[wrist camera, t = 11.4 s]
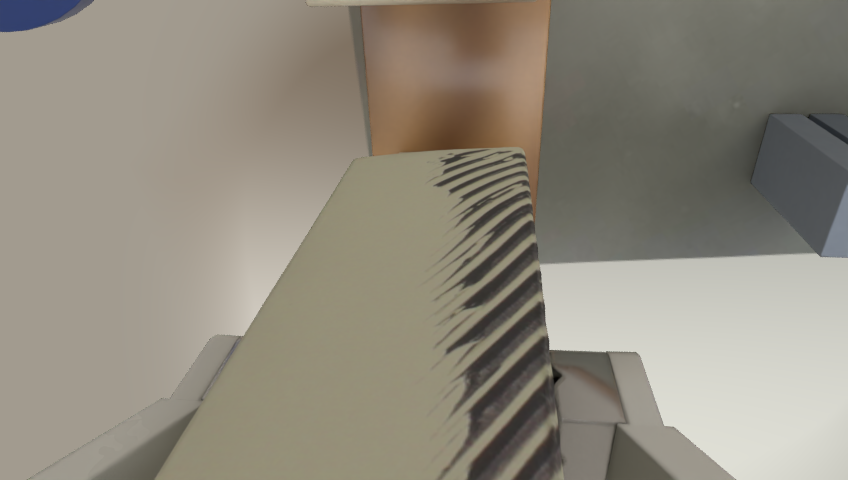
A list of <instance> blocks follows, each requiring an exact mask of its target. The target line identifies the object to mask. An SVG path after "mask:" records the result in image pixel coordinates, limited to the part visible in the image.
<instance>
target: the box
mask: <svg viewBox="0 0 848 480" xmlns="http://www.w3.org/2000/svg"><path fill="white" fill-rule="evenodd" d="M154 480H564V474H563V467H562V459H561V445H560V431H559V424H558V418H557V411H556V404H555V392H554V379H553V373H552V367H551V361H550V355H549V338H548V333H547V328H546V322H545V305H544V299H543V292H542V282H541V271H540V265H539V259H538V247H537V241H536V236H535V224H534V220H533V207H532V202H531V193H530V184H529V176H528V168H527V163H526V157H525V152H524V150H523V149H522V148H520V147H503V148H477V149H454V150H436V151H422V152H410V153H399V154H390V155H380V156H370V157H361V158H357V159H355V160H353V161H352V163H351V164H350V166H349V168H348V169H347V171H346V173H345V174H344V176H343V177H342V179H341V181H340V182H339V184H338V185H337V187H336V189H335V191H334V192H333V194H332V195H331V197H330V198H329V200H328V202H327V203H326V205H325V207H324V208H323V210H322V211H321V213H320V214H319V216H318V218H317V219H316V221H315V223H314V224H313V226H312V227H311V229H310V231H309V232H308V234H307V235H306V237H305V239H304V240H303V242H302V243H301V245H300V247H299V248H298V250H297V251H296V253H295V254H294V256H293V258H292V259H291V261H290V263H289V264H288V266H287V268H286V269H285V271H284V272H283V274H282V275H281V277H280V278H279V280H278V281H277V283H276V285H275V286H274V288H273V289H272V291H271V293H270V294H269V296H268V297H267V299H266V301H265V302H264V304H263V305H262V307H261V309H260V310H259V312H258V314H257V315H256V317H255V318H254V320H253V322H252V323H251V325H250V327H249V328H248V330H247V331H246V333H245V335H244V336H243V338H242V340H241V341H240V343H239V344H238V346H237V347H236V349H235V350H234V352H233V353H232V355H231V356H230V358H229V360H228V361H227V363H226V365H225V366H224V368H223V370H222V371H221V373H220V374H219V376H218V378H217V379H216V381H215V383H214V384H213V386H212V387H211V389H210V391H209V392H208V394H207V395H206V397H205V399H204V400H203V402H202V403H201V405H200V407H199V408H198V410H197V411H196V413H195V415H194V416H193V418H192V419H191V421H190V423H189V424H188V426H187V427H186V429H185V431H184V432H183V434H182V435H181V437H180V439H179V440H178V442H177V444H176V445H175V447H174V448H173V450H172V452H171V453H170V455H169V457H168V458H167V460H166V461H165V463H164V465H163V466H162V468H161V469H160V471H159V473H158V474H157V476H156V478H155V479H154Z"/></svg>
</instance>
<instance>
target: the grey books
mask: <svg viewBox="0 0 848 480" xmlns="http://www.w3.org/2000/svg"><path fill="white" fill-rule="evenodd" d="M751 184H752V185H753V186H754V187H755V188H756V189H757V190H758V191H759V192H760V193H761V194H762V195H763V196H764V197H765V199H766V200H767V201H768V202H769V203H770V204H771V205H772V206H773V207H774V208H775V209H776V210H777V211H778V212H779V213H780V214H781V215H782V217H783V218H784V219H785V220H786V221H787V222H788V223H789V224H790V225H791V226H792V227H793V228H794V229H795V230H796V231H797V232H798V234H799V235H800V236H801V237H802V238H803V239H804V240H805V241H806V242H807V243H808V244H809V245H810V246H811V247H812V248H813V249H814V251H815V252H816V253H817V254H818V255H819V256H820V257H842V258H848V117H847V116H845V115H844V114H810V116H809V119H808V118H807V117H805V116H804V115H802V114H770V116H769V119H768V123H767V126H766V130H765V133H764V137H763V140H762V144H761V148H760V151H759V155H758V158H757V162H756V165H755V169H754V173H753V176H752V180H751Z"/></svg>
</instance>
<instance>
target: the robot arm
mask: <svg viewBox="0 0 848 480" xmlns="http://www.w3.org/2000/svg"><path fill="white" fill-rule="evenodd" d="M242 338H243V336H231V335H215V336H214V337H212V338H210V339H209V341H208V342H207V344H206V345H205V347H204V348H203V350H202V351H201V353H200V354H199V356H198V357H197V359H196V360H195V362H194V363H193V365H192V366H191V368H190V369H189V371H188V372H187V374H186V375H185V377H184V378H183V380H182V381H181V383H180V384H179V386H178V387H177V389H176V390H175V392H174V393H173V394H172V396H171V398H170V399H163V398H161V399H160V400H158V401H157V402H155V403H153V404H152V405H150V406H148V407H146V408H145V409H143V410H142V411H140V412H138V413H137V414H135V415H133V416H132V417H130V418H128V419H127V420H125V421H123V422H122V423H120V424H118V425H117V426H115V427H113V428H112V429H110V430H108V431H107V432H105V433H103V434H102V435H100V436H98V437H97V438H95V439H93V440H92V441H91V442H88V443H87V444H85V445H83V446H82V447H80V448H78V449H77V450H75V451H74V452H72V453H70V454H69V455H67V456H65V457H64V458H62V459H60V460H59V461H57V462H55V463H54V464H52V465H50V466H49V467H47V468H45V469H44V470H42V471H41V472H39V473H37V474H35V475H34V476H32V477H30V478H29V479H27V480H154V479H155V478H156V476H157V474H158V473H159V471H160V469H161V468H162V466H163V465H164V463H165V461H166V460H167V458H168V457H169V455H170V453H171V452H172V450H173V448H174V447H175V445H176V444H177V442H178V440H179V439H180V437H181V435H182V434H183V432H184V431H185V429H186V427H187V426H188V424H189V423H190V421H191V419H192V418H193V416H194V415H195V413H196V411H197V410H198V408H199V407H200V405H201V403H202V402H203V400H204V399H205V397H206V395H207V394H208V392H209V391H210V389H211V387H212V386H213V384H214V383H215V381H216V379H217V378H218V376H219V374H220V373H221V371H222V370H223V368H224V366H225V365H226V363H227V361H228V360H229V358H230V356H231V355H232V353H233V352H234V350H235V349H236V347H237V346H238V344H239V343H240V341H241V340H242ZM549 355H550V361H551V367H552V373H553V379H554V392H555V404H556V411H557V418H558V424H559V431H560V445H561V459H562V467H563V474H564V480H736V479H735V478H733V477H732V476H731V475H730V474H729V473H727V472H726V471H725V470H724V469H723V468H721V467H720V466H719V465H718V464H717V463H716V462H714V461H713V460H712V459H711V458H710V457H709V456H707V455H706V454H705V453H704V452H703V451H701V450H700V449H699V448H698V447H696V445H694V444H693V443H692V442H691V441H690V440H689V439H687V438H686V437H685V436H684V435H683V434H681V433H680V432H679V431H678V430H676V428H674V427H668V426H664V425H663V421H662V418H661V416H660V413H659V410H658V407H657V404H656V401H655V398H654V395H653V392H652V390H651V386H650V384H649V381H648V378H647V375H646V372H645V369H644V366H643V363H642V360H641V358H640V356H639V355H638V354H637V353H636V352H608V351H607V352H606V353H605V352H590V351H562V350H549Z"/></svg>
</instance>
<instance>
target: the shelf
mask: <svg viewBox="0 0 848 480" xmlns="http://www.w3.org/2000/svg"><path fill="white" fill-rule="evenodd" d="M306 4H307V6H310V7H319V6H320V7H322V6H360V11H361V23H362V35H363V47H364V58H365V70H366V82H367V94H368V106H369V117H370V129H371V141H372V153H373V156H380V155H390V154H399V153H410V152H422V151H436V150H454V149H477V148H503V147H520V148H522V149H523V150H524V152H525V157H526V163H527V168H528V176H529V184H530V193H531V202H532V207H533V220H534V224H535V213H536V199H537V186H538V172H539V158H540V145H541V131H542V118H543V104H544V90H545V77H546V63H547V49H548V36H549V22H550V9H551V0H306Z"/></svg>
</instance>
